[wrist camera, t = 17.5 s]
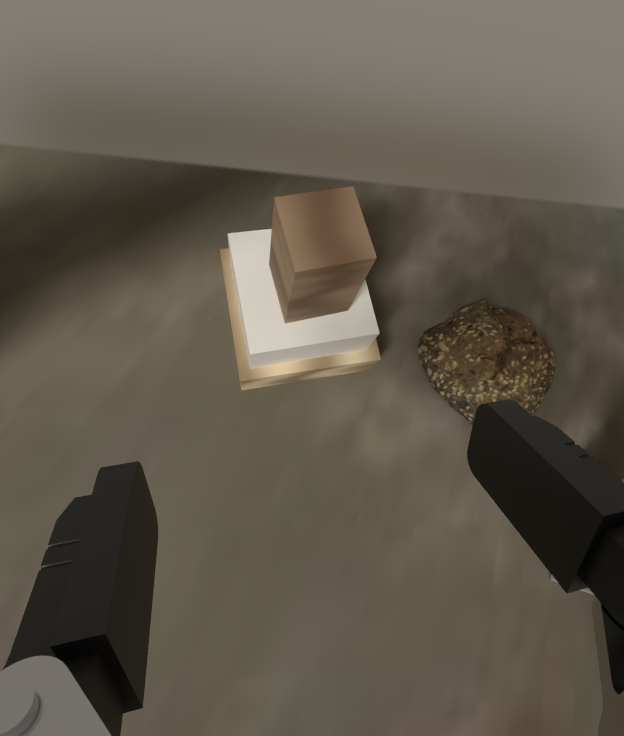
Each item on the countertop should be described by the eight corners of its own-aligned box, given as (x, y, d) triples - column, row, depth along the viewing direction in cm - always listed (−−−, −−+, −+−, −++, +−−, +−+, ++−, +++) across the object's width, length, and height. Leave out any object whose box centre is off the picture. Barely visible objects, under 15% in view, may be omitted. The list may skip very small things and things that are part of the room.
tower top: (250, 368, 34) (250, 354, 31) (230, 259, 37) (227, 233, 33) (366, 349, 36) (379, 333, 32) (340, 246, 39) (349, 220, 35)
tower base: (241, 391, 38) (240, 381, 34) (222, 271, 41) (219, 249, 37) (368, 371, 40) (381, 359, 36) (342, 258, 43) (351, 236, 39)
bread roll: (484, 456, 39) (516, 451, 34) (398, 352, 41) (417, 334, 36) (569, 376, 42) (609, 362, 38) (486, 283, 44) (515, 259, 39)
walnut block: (284, 323, 32) (295, 272, 24) (268, 264, 33) (274, 197, 25) (347, 310, 33) (376, 257, 25) (330, 253, 34) (353, 185, 26)
